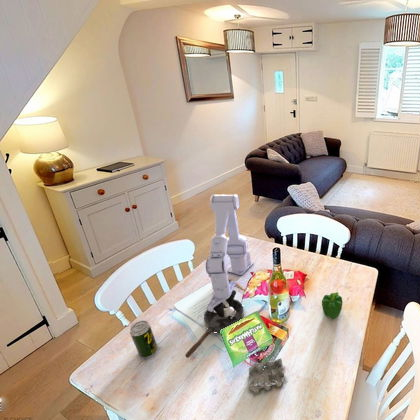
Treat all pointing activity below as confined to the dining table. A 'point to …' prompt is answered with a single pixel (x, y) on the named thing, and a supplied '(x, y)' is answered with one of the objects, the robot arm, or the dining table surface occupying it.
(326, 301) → the bell pepper
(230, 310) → the rabbit figurine
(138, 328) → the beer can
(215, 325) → the pan
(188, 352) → the pan handle
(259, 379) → the egg carton
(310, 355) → the dining table surface
